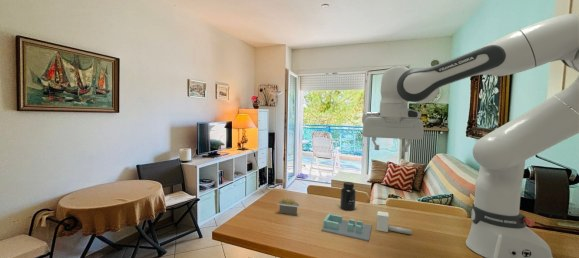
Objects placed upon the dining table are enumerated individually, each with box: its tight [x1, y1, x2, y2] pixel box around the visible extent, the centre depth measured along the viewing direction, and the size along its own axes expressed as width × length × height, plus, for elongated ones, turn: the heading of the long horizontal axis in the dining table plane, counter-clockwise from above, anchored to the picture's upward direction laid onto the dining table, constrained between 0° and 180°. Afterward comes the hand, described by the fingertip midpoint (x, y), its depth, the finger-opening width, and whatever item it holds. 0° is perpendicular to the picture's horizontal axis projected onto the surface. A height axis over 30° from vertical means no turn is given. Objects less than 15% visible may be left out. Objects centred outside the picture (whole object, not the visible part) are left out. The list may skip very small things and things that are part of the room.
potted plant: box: [276, 197, 300, 216], centre depth 104 cm, size 12×18×7 cm, turn 75°
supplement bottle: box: [339, 181, 357, 211], centre depth 111 cm, size 7×7×12 cm
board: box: [321, 213, 372, 242], centre depth 91 cm, size 17×12×3 cm
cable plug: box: [376, 210, 412, 236], centre depth 89 cm, size 12×4×6 cm, turn 66°
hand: (390, 150), depth 85 cm, fingers open, 8 cm apart
